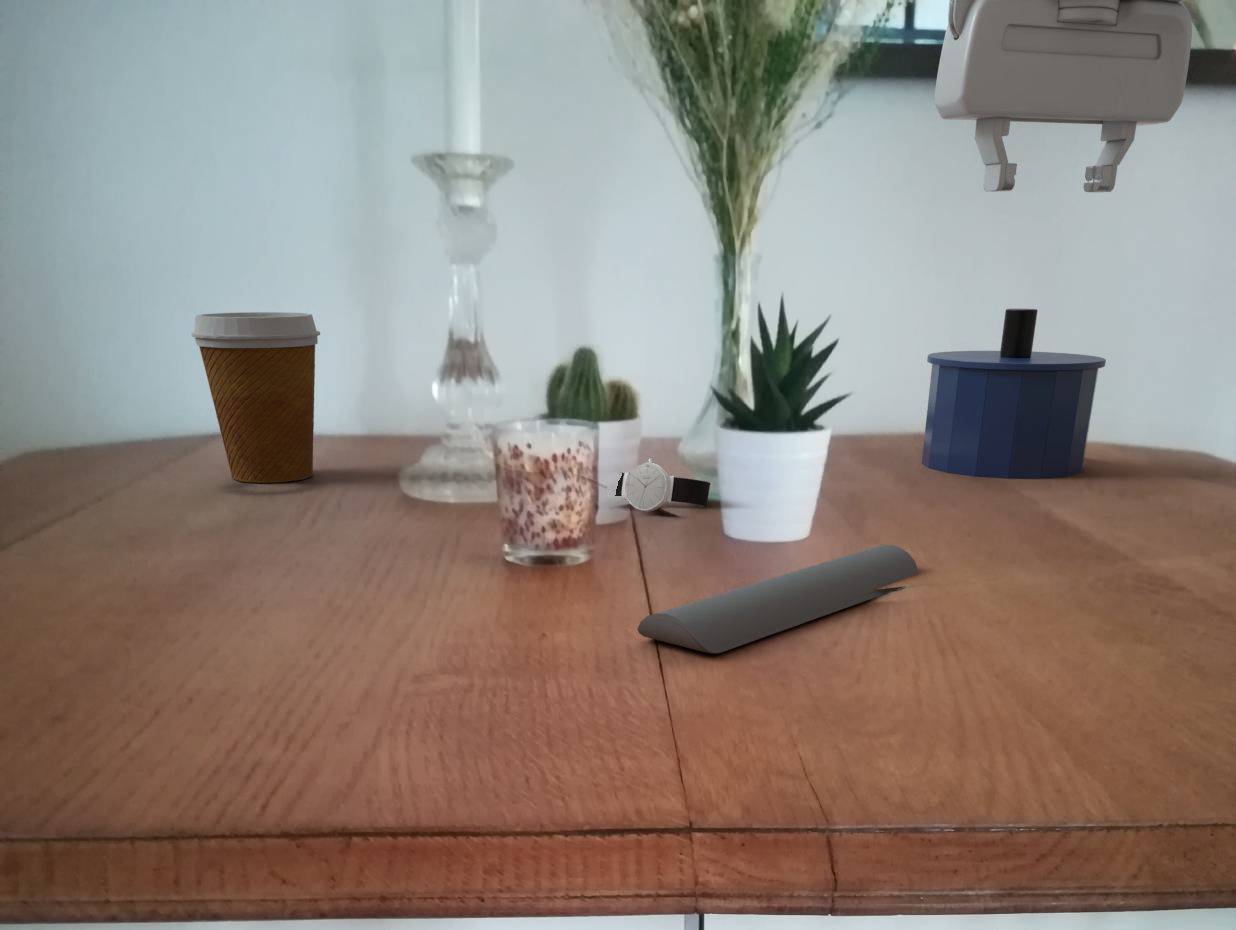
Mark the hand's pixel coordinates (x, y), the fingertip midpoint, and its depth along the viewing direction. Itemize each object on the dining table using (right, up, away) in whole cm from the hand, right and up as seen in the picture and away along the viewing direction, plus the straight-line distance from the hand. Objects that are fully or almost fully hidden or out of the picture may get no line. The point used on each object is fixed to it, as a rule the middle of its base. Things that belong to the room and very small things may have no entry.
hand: (1049, 191), depth 92 cm
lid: (-1, -11, +5) cm, 12 cm away
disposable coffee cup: (-60, -20, +6) cm, 64 cm away
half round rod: (-24, -37, -30) cm, 53 cm away
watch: (-30, -26, -6) cm, 40 cm away
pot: (-1, -19, +9) cm, 21 cm away
